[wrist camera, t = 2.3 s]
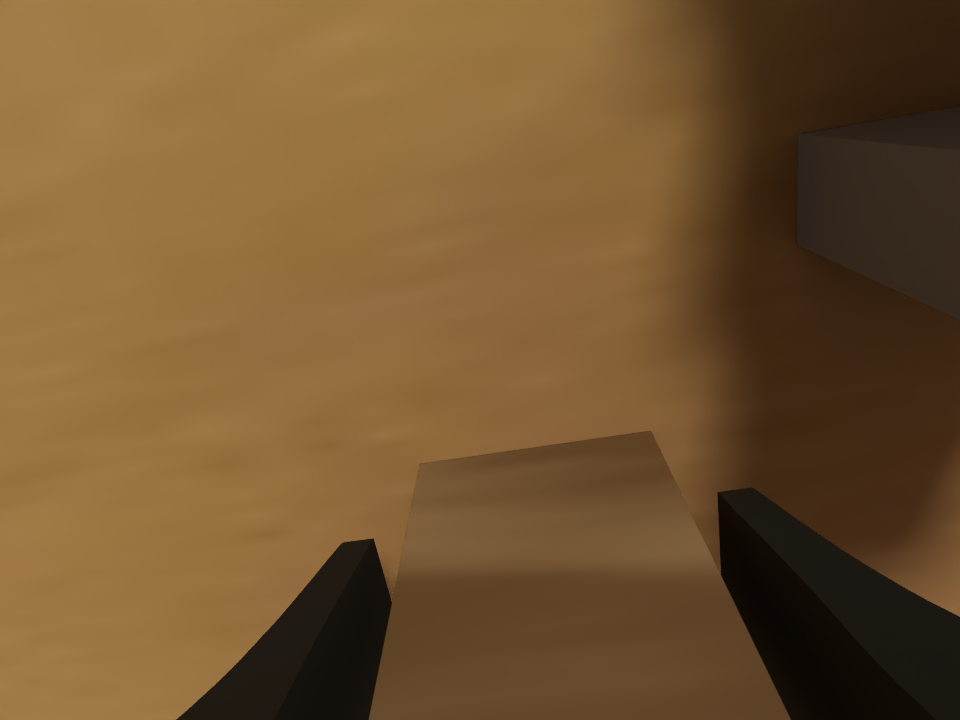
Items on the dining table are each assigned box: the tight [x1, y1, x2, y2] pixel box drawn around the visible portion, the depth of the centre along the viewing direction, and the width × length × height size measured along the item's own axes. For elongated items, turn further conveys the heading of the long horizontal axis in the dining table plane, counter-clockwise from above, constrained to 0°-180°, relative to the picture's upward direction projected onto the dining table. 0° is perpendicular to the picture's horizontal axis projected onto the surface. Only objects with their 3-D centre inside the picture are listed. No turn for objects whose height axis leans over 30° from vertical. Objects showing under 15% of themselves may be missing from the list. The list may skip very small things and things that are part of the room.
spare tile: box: [369, 431, 791, 720], centre depth 10 cm, size 2×5×8 cm, turn 100°
